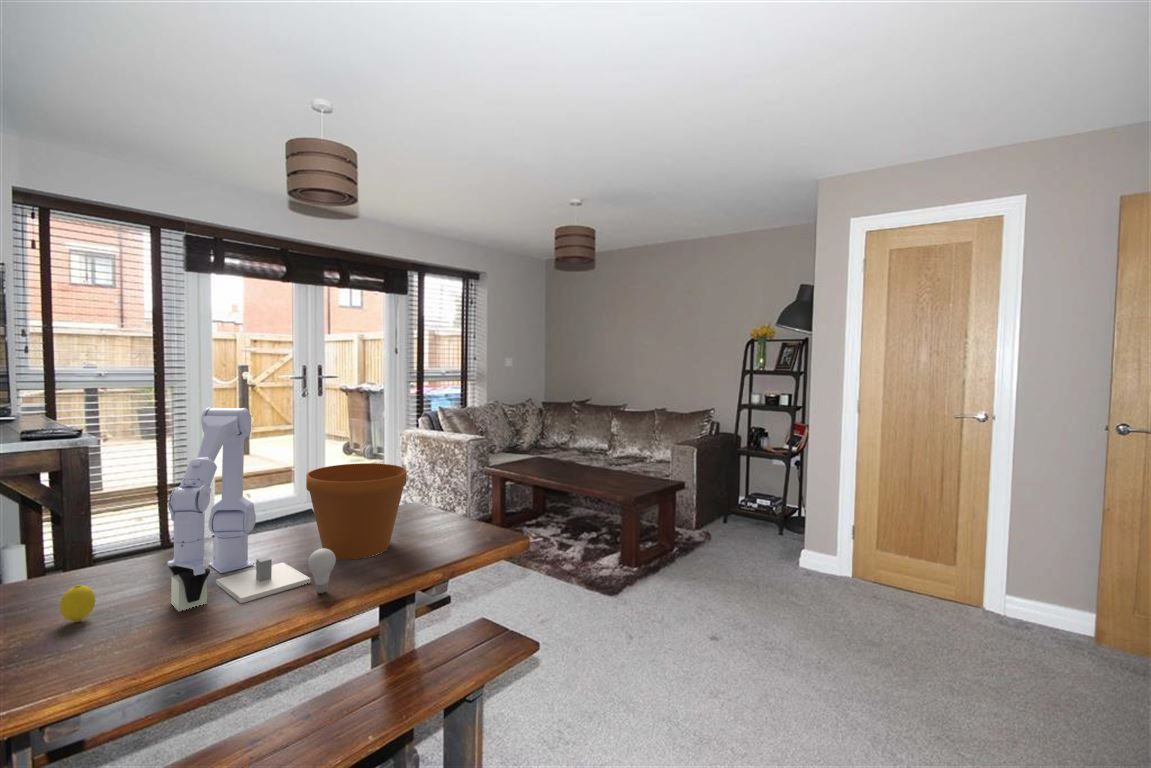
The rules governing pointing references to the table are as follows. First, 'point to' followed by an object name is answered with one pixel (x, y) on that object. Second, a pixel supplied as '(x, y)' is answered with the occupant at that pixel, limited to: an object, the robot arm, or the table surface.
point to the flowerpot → (356, 506)
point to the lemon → (77, 603)
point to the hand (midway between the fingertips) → (189, 597)
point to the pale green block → (180, 596)
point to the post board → (263, 588)
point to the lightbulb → (321, 567)
